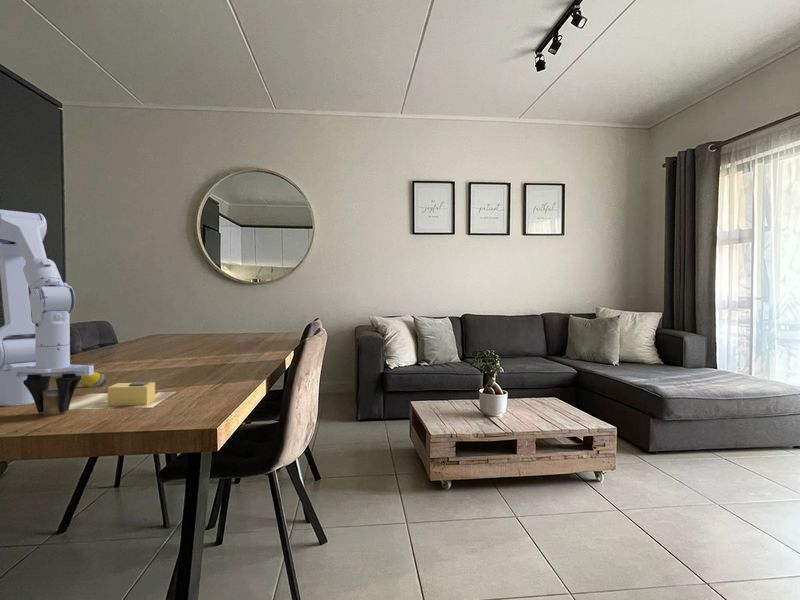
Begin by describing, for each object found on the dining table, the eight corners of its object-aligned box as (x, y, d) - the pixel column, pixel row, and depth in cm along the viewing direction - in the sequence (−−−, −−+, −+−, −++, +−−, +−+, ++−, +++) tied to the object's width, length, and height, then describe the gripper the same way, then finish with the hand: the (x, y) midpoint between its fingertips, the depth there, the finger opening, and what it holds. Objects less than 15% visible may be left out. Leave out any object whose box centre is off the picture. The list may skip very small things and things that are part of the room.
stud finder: (107, 405, 105) (107, 385, 105) (117, 400, 110) (117, 381, 110) (146, 404, 106) (146, 384, 106) (155, 399, 111) (154, 380, 111)
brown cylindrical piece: (38, 422, 96) (38, 392, 96) (49, 417, 100) (48, 388, 100) (58, 421, 97) (58, 391, 97) (67, 416, 101) (67, 388, 100)
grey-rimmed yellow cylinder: (110, 391, 127) (81, 369, 121) (91, 399, 128) (62, 378, 121) (113, 376, 131) (86, 355, 125) (96, 384, 132) (67, 363, 125)
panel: (51, 415, 101) (51, 410, 101) (88, 398, 117) (88, 393, 117) (152, 412, 104) (152, 407, 104) (175, 396, 120) (175, 391, 120)
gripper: (0, 347, 93) (0, 417, 93) (81, 346, 95) (82, 415, 96) (23, 343, 100) (23, 408, 100) (98, 343, 102) (98, 406, 103)
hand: (53, 411), depth 98 cm, fingers closed on brown cylindrical piece, 3 cm apart
